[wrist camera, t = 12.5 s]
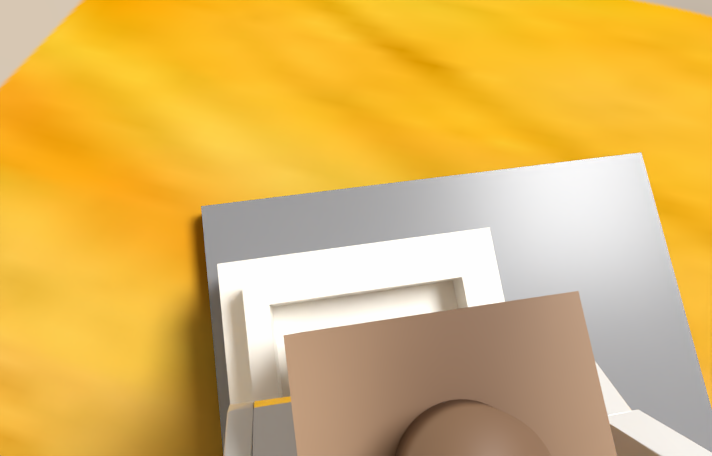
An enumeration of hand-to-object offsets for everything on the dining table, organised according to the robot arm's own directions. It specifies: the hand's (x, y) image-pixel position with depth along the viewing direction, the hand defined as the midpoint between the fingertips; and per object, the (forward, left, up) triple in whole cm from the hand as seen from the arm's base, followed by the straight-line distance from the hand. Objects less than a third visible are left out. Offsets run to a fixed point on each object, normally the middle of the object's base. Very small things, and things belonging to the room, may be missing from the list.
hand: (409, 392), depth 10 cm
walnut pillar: (0, -1, -4) cm, 4 cm away
